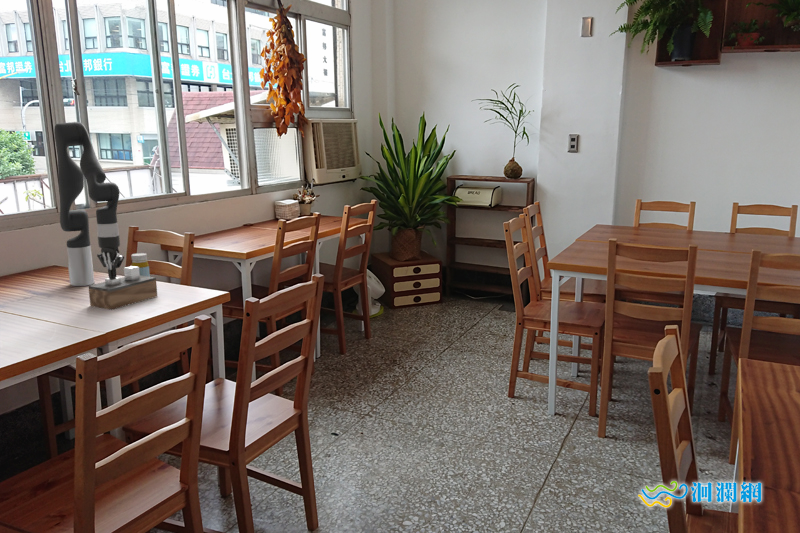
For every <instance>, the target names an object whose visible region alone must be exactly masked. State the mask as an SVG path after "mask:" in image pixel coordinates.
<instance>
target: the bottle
mask: <svg viewBox="0 0 800 533" xmlns="http://www.w3.org/2000/svg"><path fill="white" fill-rule="evenodd" d="M130 256H131V257H130V258H131V264H130V266H136V267H139V273H140V275H142V276H148V277H151V275H150V264H149V262H148V254H147V253H146V252H145V253H144V252H138V253H137V252H136V253H132V254H131V255H130Z"/></svg>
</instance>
